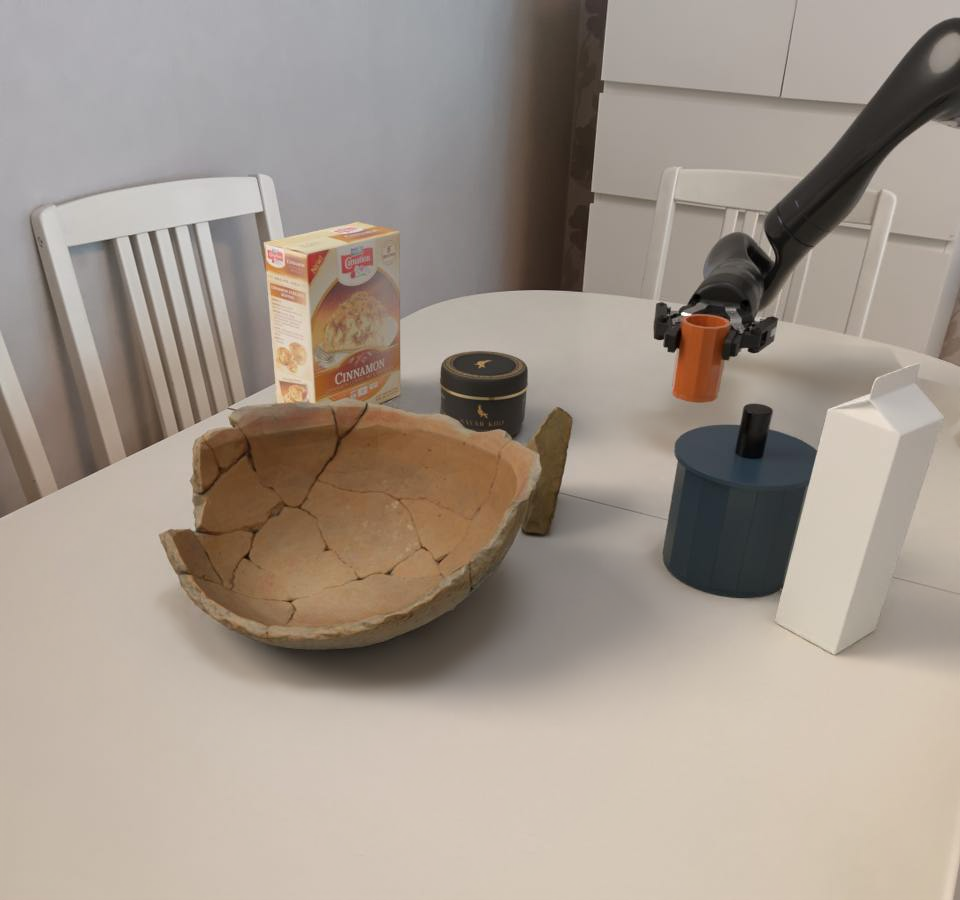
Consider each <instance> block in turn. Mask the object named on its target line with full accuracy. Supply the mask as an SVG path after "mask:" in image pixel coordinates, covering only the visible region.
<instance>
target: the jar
mask: <svg viewBox="0 0 960 900" xmlns="http://www.w3.org/2000/svg"><path fill="white" fill-rule="evenodd" d="M528 378H529V370H528V366H527V363H525V361H523V360H522V359H521V358H518V357H517V356H515V355H512V354H508V353H503V352H498V351H489V350H474V351H464V352H459V353H455V354H452V355H450V356H448V357H446V358H445V359H443V361H442V362H441V366H440V378H439V385H440V414H443V415H447V416H450V417H452V418H454V419H456V420H458V421H459V422H460V423H461V424H462V425H463V426H464V427H465V428H466V429H469V430H473V431H476V432H487V431H492V430H497V429H500V430H504V431H506V432H507V433H508V434H509V435H510V436H511V437H512V438H514V437H515V436H516V435H517V434H518V433H519V432H520V431H521V429H522V427H523V423H524V421H525V415H526V404H527V389H528V385H529V382H528V380H529V379H528Z"/></svg>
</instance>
